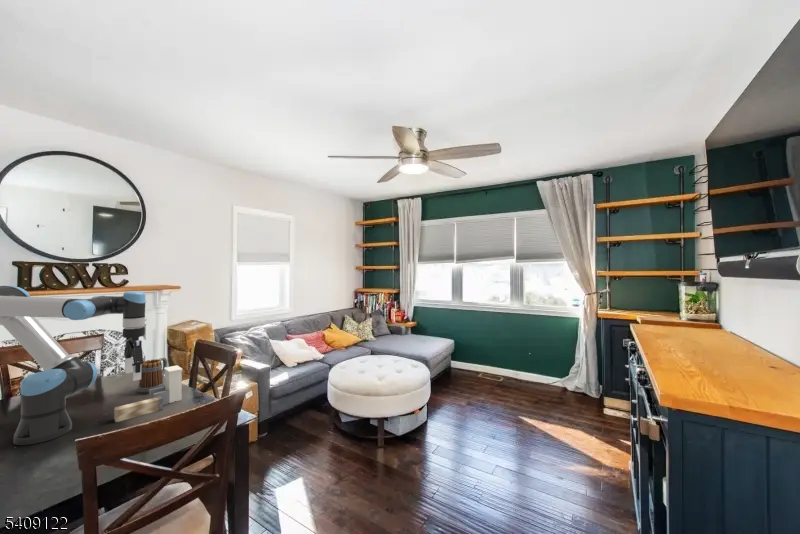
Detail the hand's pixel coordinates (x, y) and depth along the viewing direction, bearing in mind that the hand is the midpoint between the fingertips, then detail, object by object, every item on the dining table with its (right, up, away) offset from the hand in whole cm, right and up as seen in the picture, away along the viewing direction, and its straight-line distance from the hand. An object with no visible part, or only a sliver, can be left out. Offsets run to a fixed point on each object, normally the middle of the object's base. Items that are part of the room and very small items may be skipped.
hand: (132, 376), depth 142 cm
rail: (+2, -17, +1) cm, 17 cm away
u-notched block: (+4, -17, +15) cm, 23 cm away
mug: (-13, -17, +30) cm, 37 cm away
